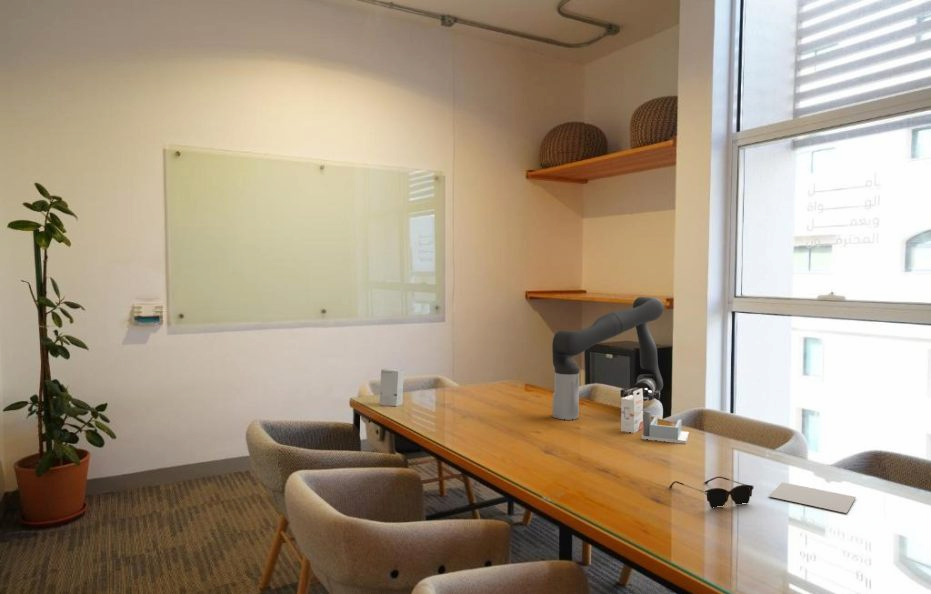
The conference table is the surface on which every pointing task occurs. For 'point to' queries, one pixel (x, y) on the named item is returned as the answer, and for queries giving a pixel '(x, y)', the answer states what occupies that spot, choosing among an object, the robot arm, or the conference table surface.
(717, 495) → the sunglasses
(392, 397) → the skincare box
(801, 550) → the conference table surface
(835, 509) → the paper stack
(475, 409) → the conference table surface
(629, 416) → the ink cartridge box
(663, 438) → the keeper cradle
